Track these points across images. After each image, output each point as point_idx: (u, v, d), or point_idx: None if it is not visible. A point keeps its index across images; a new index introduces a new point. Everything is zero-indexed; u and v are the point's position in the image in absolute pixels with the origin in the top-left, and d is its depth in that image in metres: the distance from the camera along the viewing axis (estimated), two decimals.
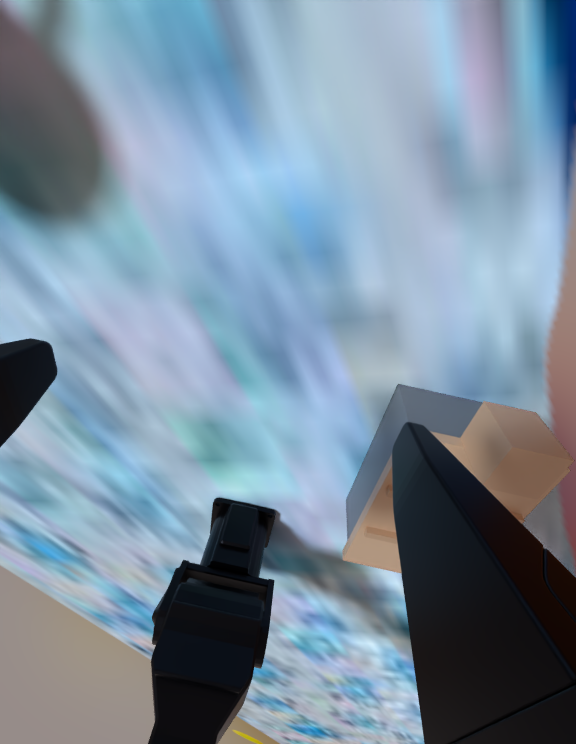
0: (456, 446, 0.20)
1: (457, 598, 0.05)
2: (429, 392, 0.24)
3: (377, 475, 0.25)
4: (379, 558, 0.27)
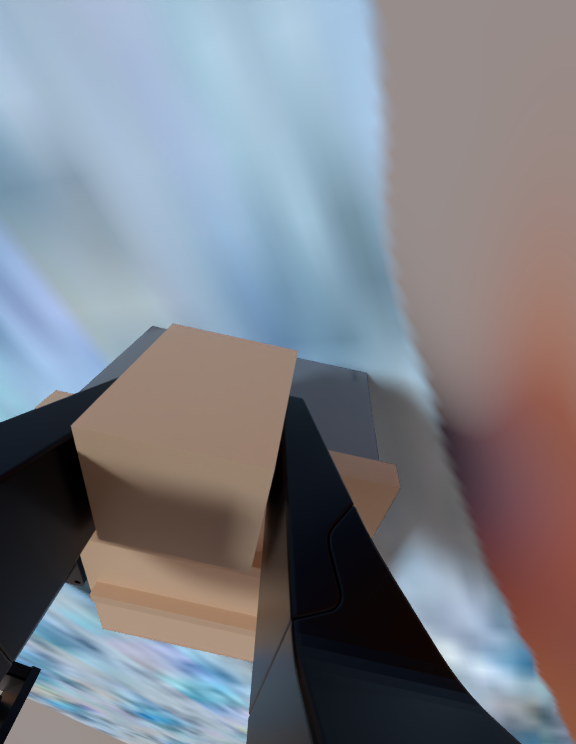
0: None
1: (273, 557, 0.05)
2: None
3: None
4: (153, 628, 0.16)
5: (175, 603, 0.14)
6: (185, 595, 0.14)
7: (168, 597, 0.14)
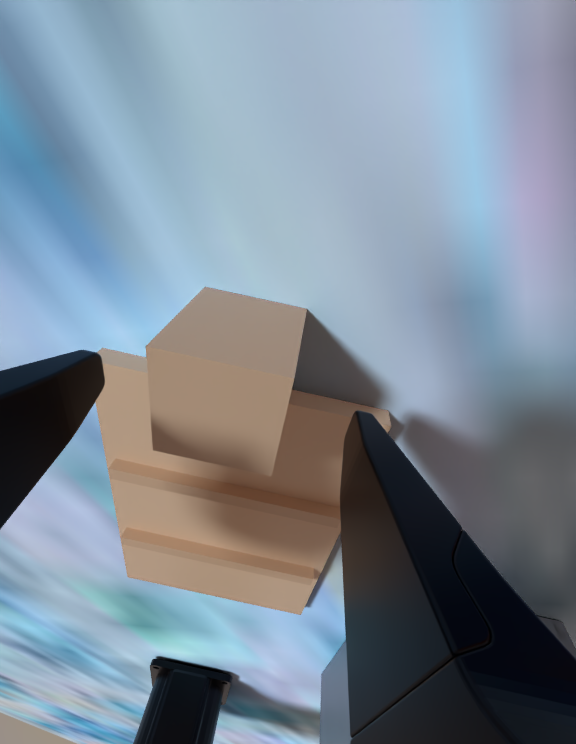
0: None
1: (378, 580, 0.05)
2: None
3: None
4: (174, 575, 0.18)
5: (196, 546, 0.16)
6: (204, 538, 0.15)
7: (189, 541, 0.16)
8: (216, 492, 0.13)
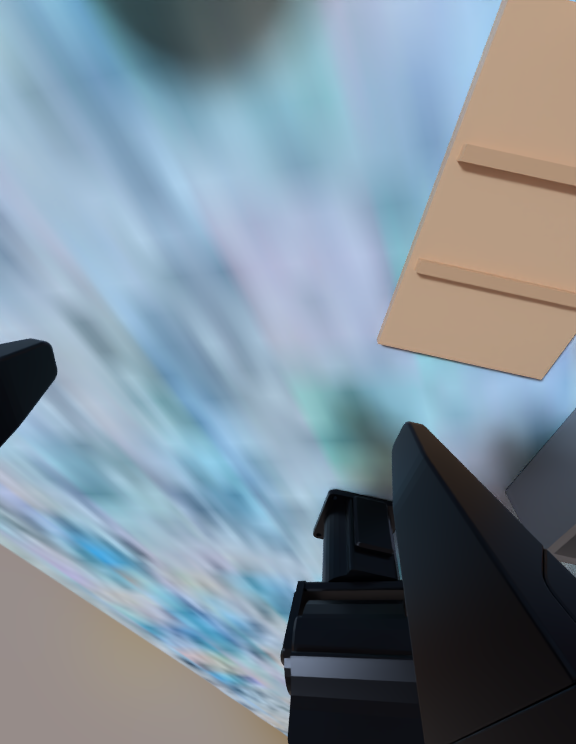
0: None
1: (457, 598, 0.05)
2: None
3: None
4: (431, 332, 0.19)
5: (486, 273, 0.17)
6: (496, 264, 0.17)
7: (477, 271, 0.17)
8: (564, 168, 0.14)
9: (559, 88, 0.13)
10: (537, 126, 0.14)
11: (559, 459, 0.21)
